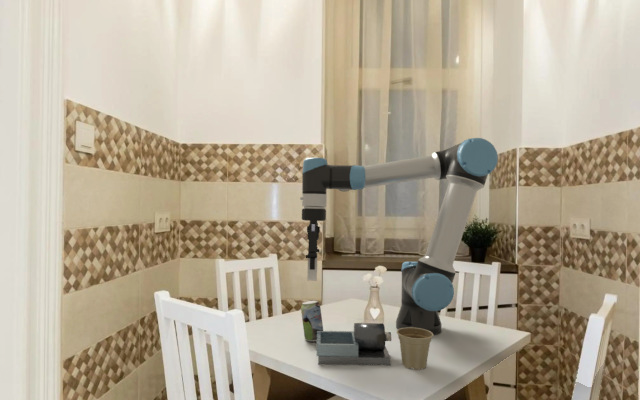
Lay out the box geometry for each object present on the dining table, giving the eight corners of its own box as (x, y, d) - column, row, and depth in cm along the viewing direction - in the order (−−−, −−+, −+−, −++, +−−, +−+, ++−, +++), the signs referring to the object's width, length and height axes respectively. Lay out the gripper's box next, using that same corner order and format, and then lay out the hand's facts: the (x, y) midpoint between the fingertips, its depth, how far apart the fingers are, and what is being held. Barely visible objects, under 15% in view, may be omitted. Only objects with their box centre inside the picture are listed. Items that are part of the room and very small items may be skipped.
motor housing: (386, 348, 121) (386, 317, 121) (394, 365, 108) (394, 331, 108) (316, 347, 121) (317, 316, 121) (316, 364, 108) (316, 330, 108)
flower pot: (439, 365, 109) (439, 332, 109) (422, 376, 102) (422, 340, 102) (407, 356, 115) (408, 325, 115) (389, 365, 108) (389, 332, 108)
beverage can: (321, 344, 124) (322, 304, 124) (298, 342, 125) (298, 302, 125) (325, 337, 130) (326, 299, 130) (303, 336, 131) (303, 298, 131)
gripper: (303, 207, 140) (302, 269, 140) (299, 207, 115) (298, 283, 115) (325, 207, 140) (324, 270, 140) (326, 208, 115) (325, 284, 115)
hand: (312, 276), depth 128 cm, fingers open, 13 cm apart
